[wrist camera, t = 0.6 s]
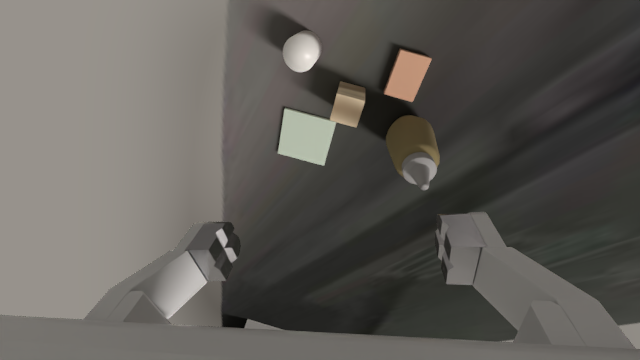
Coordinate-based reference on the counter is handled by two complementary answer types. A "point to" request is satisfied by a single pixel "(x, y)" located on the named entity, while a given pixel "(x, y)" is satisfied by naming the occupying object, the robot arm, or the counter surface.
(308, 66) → the white rounded dome
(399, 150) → the squeeze bottle
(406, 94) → the terracotta tile
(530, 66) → the counter surface
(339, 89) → the maple block
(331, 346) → the robot arm
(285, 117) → the mat
